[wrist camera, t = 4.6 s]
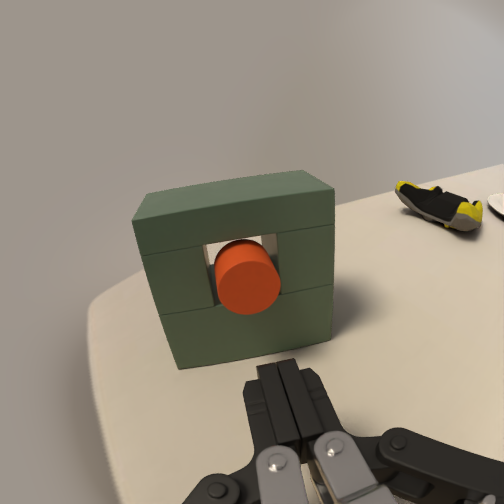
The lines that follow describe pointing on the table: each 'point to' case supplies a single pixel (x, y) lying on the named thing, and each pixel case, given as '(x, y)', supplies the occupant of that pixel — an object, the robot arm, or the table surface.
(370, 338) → the table surface
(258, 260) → the push knob
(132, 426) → the table surface
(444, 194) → the toy running shoe
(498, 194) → the plate
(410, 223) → the table surface
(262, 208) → the block
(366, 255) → the table surface
